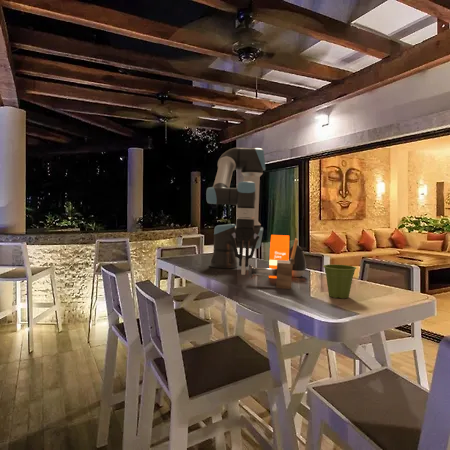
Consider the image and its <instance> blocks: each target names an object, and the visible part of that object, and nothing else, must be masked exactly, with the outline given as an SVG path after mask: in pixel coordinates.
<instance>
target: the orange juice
mask: <svg viewBox="0 0 450 450" xmlns="http://www.w3.org/2000/svg"><path fill="white" fill-rule="evenodd" d="M269 246H270V247H269V261H268V263H269V264H268V267H269V268H270V269H277V260H289V250H290V235H287V234H286V235H285V234H284V235H283V234H271V235H270V245H269ZM268 278H269V279H276V278H277V276H268Z"/></svg>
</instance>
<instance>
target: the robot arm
mask: <svg viewBox="0 0 450 450" xmlns="http://www.w3.org/2000/svg"><path fill="white" fill-rule="evenodd" d="M265 159H266V158H265V151H264V149H263V148H260V147H233V148H229V149H228V150H226V151H225V152H223V153H222V154H221V156H220V157H219V158H218V160H217V172H216V175H215V178H214V179H215V180H214V182H213V185H212V186H210V187H207V188H206V193H205V195H206V196H205V197H206V202H207V204H211V205H236V218H237V219H236V224H235V223H229V224H218V225H216V226H215V227H214V230H213V232H214V233H213V251H212V252H213V253H212V256H211V258H210V261H209V267H212V268H216V269H235V268H238V266H239V267H241V270H240V271H241V273H240V274H241V276H245V275H246V270H247V269H246V268H247V267H248V268H249V261H250V260H249V259H252V258H253V257H254V253H255V250H256V249H260V247H261V244H262V238H263V233H264V227H263V226H261V225H262V224H261V223H260V221H259V206H260V205H259V204H260V182H261V180H260V177H261V176H262V175H263V174H264V172H263V171H266V160H265ZM235 170H236V171H237V170H238V171H239V170H240V173H241V175H242V176H243V181H239V182H238V183H237V187H230V186H231V181H232V178H233V177H232V176H233V172H234V171H235ZM238 249H239V252H238ZM244 249H245V258H243V257H244V256H243V254H244ZM237 260H238V261H239V262H238V261H237Z"/></svg>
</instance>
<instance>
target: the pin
mask: <svg viewBox="0 0 450 450" xmlns="http://www.w3.org/2000/svg"><path fill="white" fill-rule="evenodd" d="M254 275H255V276H267V277H269V276H277V269H270V268H268V267H267V268H266V267H253V264H248V277H249V278H253V276H254Z"/></svg>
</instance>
